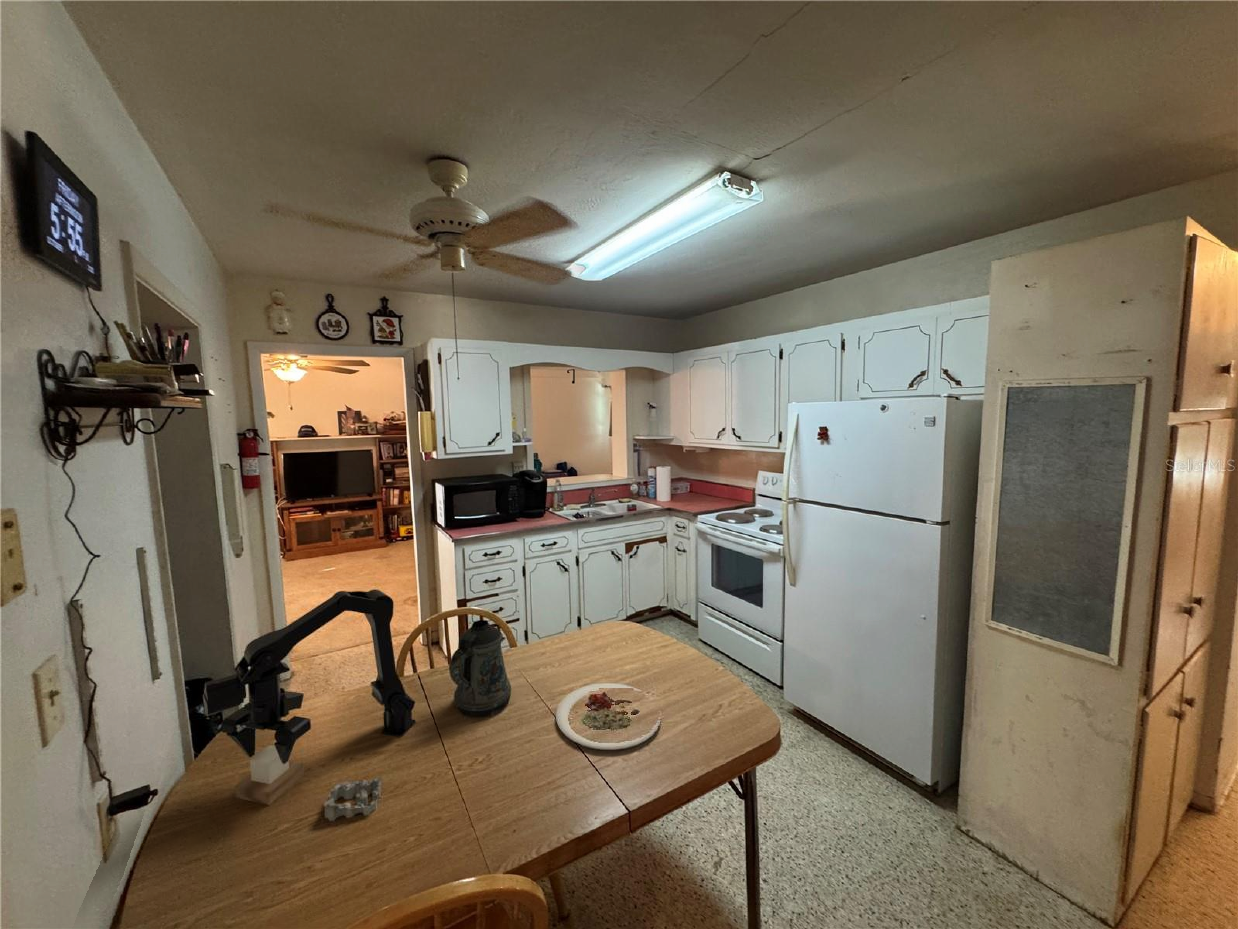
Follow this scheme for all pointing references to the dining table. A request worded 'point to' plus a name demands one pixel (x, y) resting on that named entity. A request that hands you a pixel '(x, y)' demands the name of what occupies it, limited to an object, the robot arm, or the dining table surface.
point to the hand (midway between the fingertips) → (268, 759)
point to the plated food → (599, 716)
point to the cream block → (267, 766)
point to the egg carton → (348, 792)
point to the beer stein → (480, 672)
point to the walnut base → (269, 785)
